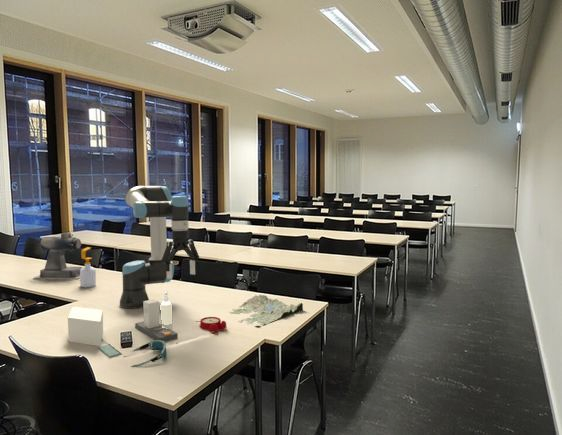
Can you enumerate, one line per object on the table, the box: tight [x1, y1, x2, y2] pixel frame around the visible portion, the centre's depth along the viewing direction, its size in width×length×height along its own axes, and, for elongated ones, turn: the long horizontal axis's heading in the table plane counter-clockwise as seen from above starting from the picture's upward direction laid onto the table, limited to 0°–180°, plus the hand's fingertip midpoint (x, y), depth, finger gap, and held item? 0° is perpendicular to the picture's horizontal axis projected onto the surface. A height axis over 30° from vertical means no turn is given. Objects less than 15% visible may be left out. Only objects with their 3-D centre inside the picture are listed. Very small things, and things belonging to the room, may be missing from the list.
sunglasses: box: [123, 339, 168, 368], centre depth 159 cm, size 14×15×5 cm
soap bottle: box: [79, 246, 97, 288], centre depth 266 cm, size 9×9×25 cm
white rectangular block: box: [67, 306, 104, 347], centre depth 179 cm, size 14×29×10 cm, turn 47°
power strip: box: [134, 320, 179, 343], centre depth 185 cm, size 30×8×4 cm, turn 43°
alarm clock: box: [195, 316, 227, 334], centre depth 191 cm, size 10×6×15 cm
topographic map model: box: [228, 294, 304, 329], centre depth 216 cm, size 36×29×5 cm
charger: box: [142, 298, 160, 328], centre depth 185 cm, size 5×5×13 cm
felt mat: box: [97, 343, 123, 358], centre depth 167 cm, size 12×12×1 cm
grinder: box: [32, 232, 83, 281], centre depth 291 cm, size 18×31×31 cm, turn 91°
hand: (181, 276), depth 191 cm, fingers open, 13 cm apart
